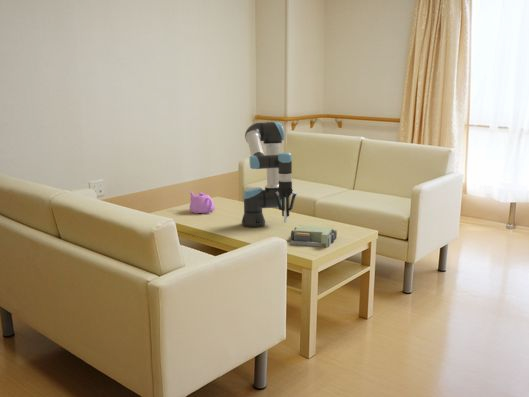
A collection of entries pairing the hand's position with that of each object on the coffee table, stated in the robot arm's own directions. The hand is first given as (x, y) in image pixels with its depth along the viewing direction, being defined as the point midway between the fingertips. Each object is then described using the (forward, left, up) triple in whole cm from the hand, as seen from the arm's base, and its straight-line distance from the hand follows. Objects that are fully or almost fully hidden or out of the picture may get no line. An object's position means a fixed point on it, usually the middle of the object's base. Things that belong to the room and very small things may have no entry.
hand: (285, 221), depth 315 cm
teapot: (-80, +60, -12) cm, 101 cm away
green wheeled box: (+14, +6, -12) cm, 19 cm away
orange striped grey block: (+10, 0, -12) cm, 15 cm away
